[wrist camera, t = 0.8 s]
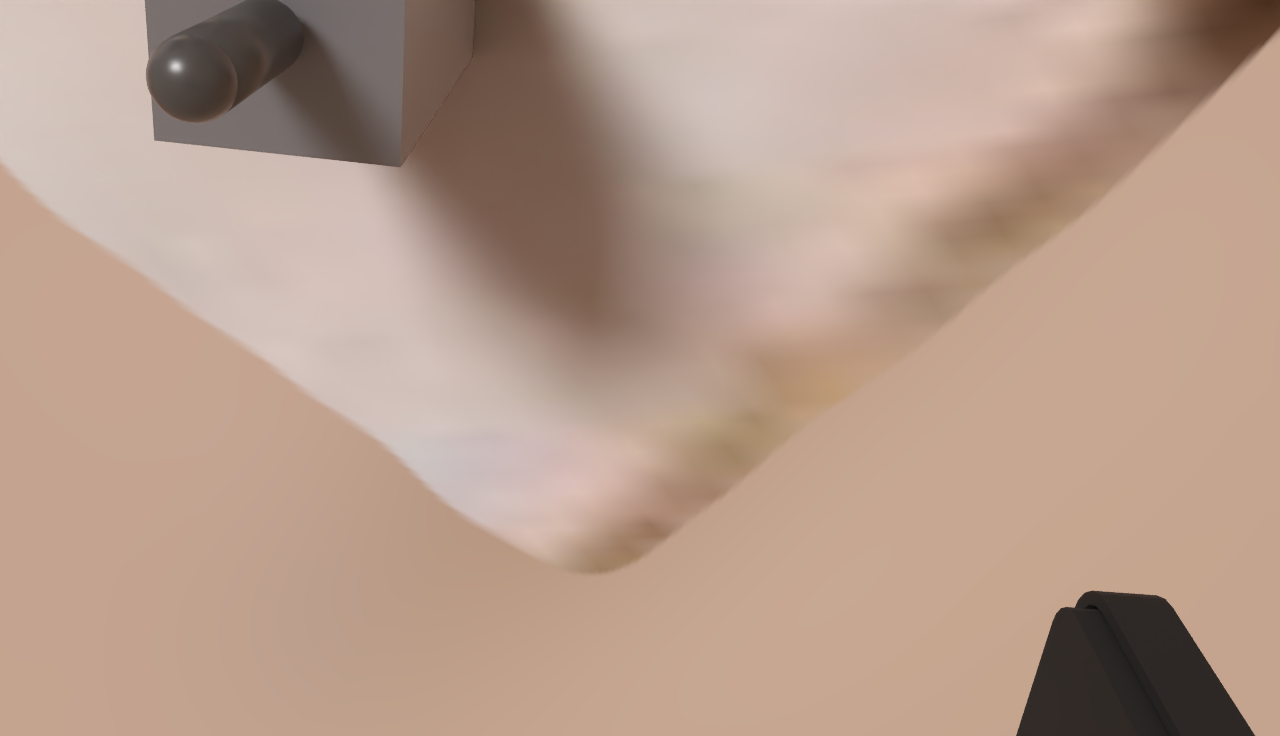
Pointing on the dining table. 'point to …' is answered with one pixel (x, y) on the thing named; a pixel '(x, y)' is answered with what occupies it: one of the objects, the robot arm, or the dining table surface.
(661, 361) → the dining table surface
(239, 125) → the plug adapter
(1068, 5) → the dining table surface
